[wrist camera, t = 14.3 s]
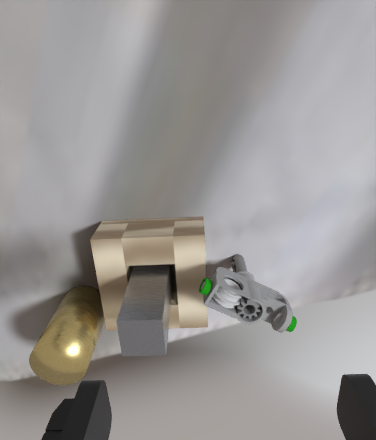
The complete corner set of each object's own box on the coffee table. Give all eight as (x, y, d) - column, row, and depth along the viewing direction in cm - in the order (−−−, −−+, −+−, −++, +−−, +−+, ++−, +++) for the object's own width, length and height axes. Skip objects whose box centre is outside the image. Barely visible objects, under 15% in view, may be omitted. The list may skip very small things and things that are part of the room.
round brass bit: (59, 287, 43) (23, 343, 34) (105, 285, 43) (81, 341, 34) (68, 323, 46) (36, 385, 36) (111, 322, 46) (90, 384, 36)
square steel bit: (137, 254, 40) (116, 321, 29) (170, 252, 40) (162, 319, 29) (141, 282, 42) (122, 356, 31) (173, 281, 41) (165, 354, 30)
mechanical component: (266, 284, 43) (286, 341, 34) (194, 252, 41) (195, 302, 32) (278, 267, 42) (303, 320, 33) (206, 233, 40) (210, 279, 31)
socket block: (102, 221, 40) (90, 239, 35) (203, 216, 39) (204, 235, 35) (115, 304, 44) (106, 330, 40) (206, 301, 44) (207, 327, 39)
